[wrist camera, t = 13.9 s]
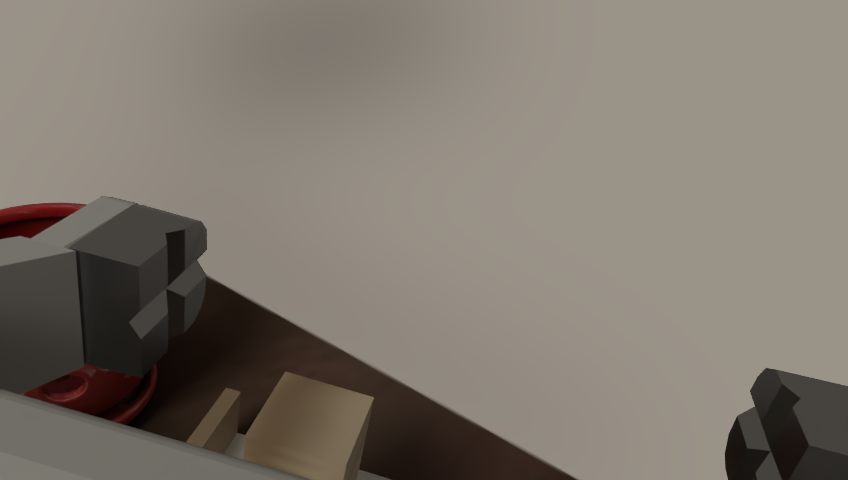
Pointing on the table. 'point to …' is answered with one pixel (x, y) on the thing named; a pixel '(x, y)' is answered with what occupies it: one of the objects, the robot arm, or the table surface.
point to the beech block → (310, 430)
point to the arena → (232, 430)
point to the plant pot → (89, 384)
